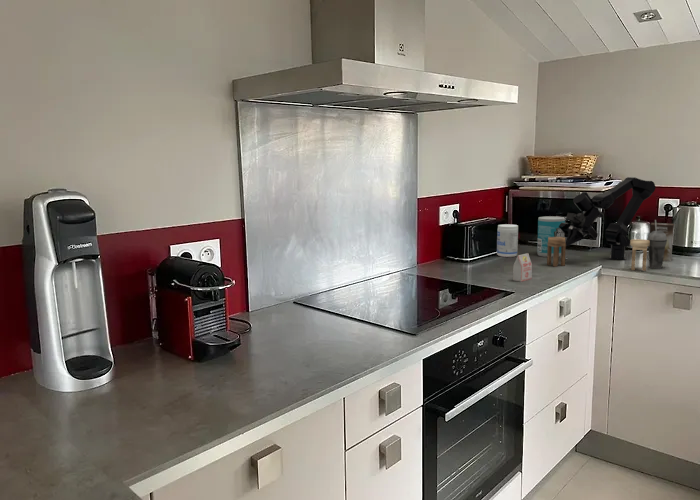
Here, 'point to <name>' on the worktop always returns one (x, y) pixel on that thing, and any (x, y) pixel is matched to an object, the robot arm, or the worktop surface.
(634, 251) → the light brown bar stool
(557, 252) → the wooden stool
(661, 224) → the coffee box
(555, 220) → the food can
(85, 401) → the worktop surface
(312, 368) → the worktop surface
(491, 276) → the worktop surface
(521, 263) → the milk carton
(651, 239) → the beverage cup
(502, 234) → the supplement tub
